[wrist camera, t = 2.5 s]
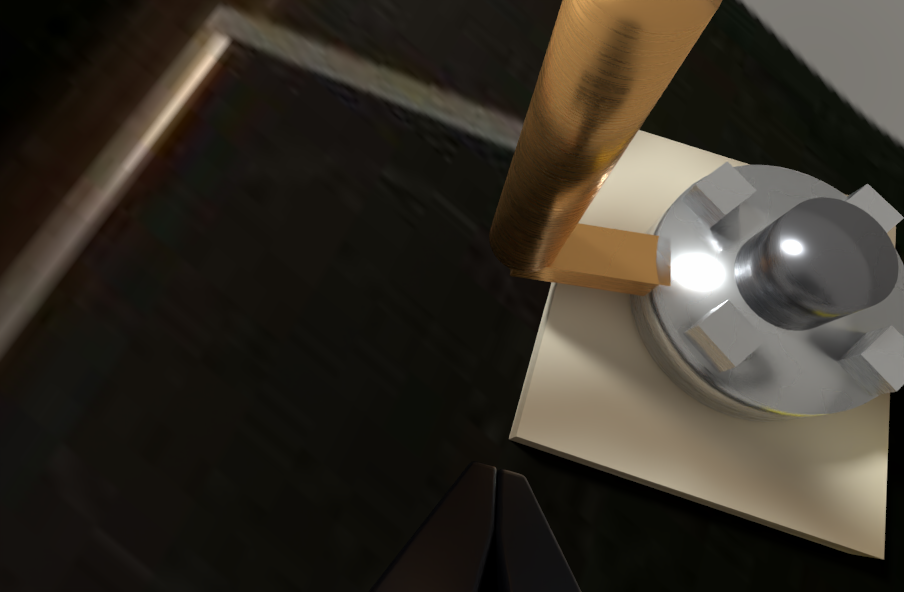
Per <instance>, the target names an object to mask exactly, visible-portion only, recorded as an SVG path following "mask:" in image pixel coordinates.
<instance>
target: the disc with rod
mask: <svg viewBox="0 0 904 592" xmlns="http://www.w3.org/2000/svg"><path fill="white" fill-rule="evenodd" d="M721 1H722V0H563V1H562V4H561V7H560V10H559V14H558V17H557V20H556V23H555V26H554V29H553V33H552V36H551V39H550V42H549V45H548V49H547V52H546V55H545V58H544V61H543V64H542V68H541V71H540V74H539V77H538V80H537V83H536V87H535V90H534V93H533V96H532V99H531V102H530V106H529V109H528V112H527V115H526V118H525V121H524V125H523V128H522V131H521V134H520V137H519V140H518V144H517V147H516V150H515V153H514V156H513V159H512V163H511V166H510V169H509V172H508V175H507V178H506V182H505V185H504V188H503V191H502V194H501V197H500V201H499V204H498V207H497V210H496V213H495V216H494V220H493V223H492V226H491V229H490V235H489V239H490V245H491V248H492V251H493V253H494V254H495V256H496V257H497V258H498V260H499V261H500V262H502V263H503V264H504V265H505V266H507V267H509V268H511V272H510V276H516V277H522V278H529V279H535V280H542V281H548V282H555V283H561V284H568V285H574V286H581V287H587V288H594V289H600V290H607V291H613V292H620V293H626V294H629V299H630V304H631V310H632V315H633V318H634V321H635V324H636V328H637V330H638V332H639V335H640V337H641V339H642V341H643V343H644V345H645V347H646V348H647V350H648V352H649V353H650V355H651V357H652V358H653V360H654V361H655V362H656V363H657V365H658V366H659V367H660V369H661V370H662V371H663V372H664V373H665V374H666V375H667V376H668V377H669V378H670V380H671V381H672V382H673V383H674V384H676V385H677V386H678V387H679V388H680V389H682V390H683V391H684V392H685V393H686V394H688V395H689V396H691V397H692V398H694V399H695V400H697V401H698V402H700V403H702V404H703V405H705V406H707V407H709V408H711V409H713V410H715V411H717V412H720V413H723V414H726V415H729V416H731V417H734V418H739V419H744V420H748V421H757V422H779V421H787V420H794V419H800V418H806V417H813V416H819V415H826V414H832V413H837V412H842V411H846V410H850V409H853V408H855V407H858V406H861V405H863V404H865V403H867V402H869V401H870V400H872V399H874V398H875V397H877V396H878V395H880V394H885V393H890V392H896V391H898V390H899V389H900V388H901V387H902V386H903V385H904V265H903V263H902V261H901V259H900V257H899V255H898V253H897V251H896V249H895V248H894V245H893V243H892V241H891V239H890V237H889V236H888V234H887V232H888V231H890V230H891V229H892V228H893V227H894V226H895V225H896V224H897V223H899V222H900V221H901V220H902V219H903V218H904V217H903V216H902V215H900V214H899V213H898V212H897V211H896V210H895V209H894V208H893V207H892V206H891V205H890V204H889V203H888V202H887V201H885V200H884V199H883V198H882V197H881V196H880V195H879V194H878V193H877V192H876V191H875V190H874V189H873V188H872V187H870V186H869V185H868V184H866V185H865V186H863V187H862V188H860V189H858V190H857V191H855V192H854V193H852V194H851V195H849V196H848V197H847V196H846V195H844V194H843V193H841V192H840V191H839V190H837V189H835V188H833V187H832V186H830V185H828V184H826V183H825V182H823V181H821V180H818V179H816V178H814V177H812V176H809V175H807V174H804V173H801V172H798V171H795V170H791V169H786V168H782V167H777V166H768V165H743V166H736V167H733V166H732V165H731V164H730V163H729V162H728V161H727V162H726V163H724V164H723V165H721V166H720V167H719V168H717V169H716V170H715V171H713V172H712V173H711V174H709V175H707V176H705V177H703V178H702V179H700V180H699V181H697V182H695V183H694V184H692V185H691V186H690V187H689V188H688V189H687V190H685V191H684V192H683V193H682V194H681V195H680V196H679V197H678V198H677V199H676V200H675V201H674V203H673V204H672V205H671V206H670V207H669V208H668V209H667V210H666V211H665V212H664V213H663V214H662V215H661V216H660V217H659V218H658V219H657V220H656V222H655V223H654V224H653V225H652V226H651V227H650V228H649V230H648V231H647V232H646V233H645V234H643V233H637V232H631V231H624V230H618V229H611V228H605V227H599V226H592V225H586V224H580V223H578V222H579V221H580V219H581V218H582V216H583V215H584V213H585V212H586V210H587V209H588V207H589V206H590V204H591V202H592V201H593V199H594V198H595V196H596V195H597V193H598V192H599V190H600V189H601V187H602V186H603V184H604V182H605V181H606V179H607V178H608V176H609V175H610V173H611V172H612V170H613V169H614V167H615V166H616V164H617V162H618V161H619V159H620V158H621V156H622V155H623V153H624V152H625V150H626V149H627V147H628V146H629V144H630V142H631V141H632V139H633V138H634V136H635V135H636V133H637V132H638V130H639V129H640V127H641V126H642V124H643V122H644V121H645V119H646V118H647V116H648V115H649V113H650V112H651V110H652V109H653V107H654V106H655V104H656V102H657V101H658V99H659V98H660V96H661V95H662V93H663V92H664V90H665V89H666V87H667V86H668V84H669V82H670V81H671V79H672V78H673V76H674V75H675V73H676V72H677V70H678V69H679V67H680V66H681V64H682V62H683V61H684V59H685V58H686V56H687V55H688V53H689V52H690V50H691V49H692V47H693V46H694V44H695V42H696V41H697V39H698V38H699V36H700V35H701V33H702V32H703V30H704V29H705V27H706V26H707V24H708V23H709V21H710V19H711V18H712V16H713V15H714V13H715V12H716V10H717V9H718V7H719V6H720V3H721Z"/></svg>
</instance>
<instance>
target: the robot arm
mask: <svg viewBox="0 0 904 592" xmlns="http://www.w3.org/2000/svg"><path fill="white" fill-rule="evenodd" d="M369 592H581V590H580V588H579V586H578V584H577V582H576V580H575V578H574V576H573V574H572V572H571V570H570V568H569V566H568V564H567V561H566V559H565V557H564V555H563V553H562V551H561V549H560V547H559V545H558V543H557V541H556V539H555V537H554V535H553V533H552V531H551V529H550V527H549V525H548V522H547V520H546V518H545V516H544V514H543V512H542V510H541V508H540V506H539V504H538V502H537V500H536V498H535V496H534V494H533V492H532V490H531V488H530V486H529V483H528V481H527V479H526V478H525V477H524V476H523V475H521V474H518V473H514V472H511V471H507V470H504V469H500V470H499V471H498V472H497V470H496V468H495V467H493V466H490V465H486V464H483V463H479V462H475V461H474V462H471V463H470V464H469V465H468V466H467V467H466V469H465V470H464V471H463V472H462V474H461V475H460V476H459V478H458V479H457V480H456V481H455V483H454V484H453V485H452V486H451V488H450V489H449V490H448V492H447V493H446V494H445V495H444V497H443V498H442V499H441V500H440V502H439V503H438V504H437V505H436V507H435V508H434V509H433V511H432V512H431V513H430V514H429V516H428V517H427V518H426V519H425V521H424V522H423V523H422V525H421V526H420V527H419V528H418V530H417V531H416V532H415V533H414V535H413V536H412V537H411V539H410V540H409V541H408V542H407V544H406V545H405V546H404V547H403V549H402V550H401V551H400V552H399V554H398V555H397V556H396V558H395V559H394V560H393V561H392V563H391V564H390V565H389V566H388V568H387V569H386V570H385V572H384V573H383V574H382V575H381V577H380V578H379V579H378V580H377V582H376V583H375V584H374V585H373V587H372V588H371V589H370V591H369Z"/></svg>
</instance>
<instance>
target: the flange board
mask: <svg viewBox="0 0 904 592" xmlns="http://www.w3.org/2000/svg"><path fill="white" fill-rule="evenodd" d="M727 161H728V162H729V163H730V164H731V165H732V166H733V167H736V166H743V165H749V164H746V163H743V162H740V161H736V160H733V159H730V158H727V157H724V156H720V155H717V154H714V153H711V152H708V151H704V150H701V149H698V148H695V147H692V146H688V145H685V144H682V143H679V142H676V141H672V140H669V139H666V138H663V137H660V136H656V135H653V134H650V133H647V132H643V131H640V130H638V132H637V133H636V135H635V136H634V138H633V139H632V141H631V142H630V144H629V146H628V147H627V149H626V150H625V152H624V153H623V155H622V156H621V158H620V159H619V161H618V162H617V164H616V166H615V167H614V169H613V170H612V172H611V173H610V175H609V176H608V178H607V179H606V181H605V182H604V184H603V186H602V187H601V189H600V190H599V192H598V193H597V195H596V196H595V198H594V199H593V201H592V202H591V204H590V206H589V207H588V209H587V210H586V212H585V213H584V215H583V216H582V218H581V219H580V221H579V222H578V223H580V224H586V225H592V226H599V227H605V228H611V229H618V230H624V231H631V232H637V233H643V234H645V233H646V232H647V231H648V230H649V228H650V227H651V226H652V225H653V224H654V223H655V222H656V220H657V219H658V218H659V217H660V216H661V215H662V214H663V213H664V212H665V211H666V210H667V209H668V208H669V207H670V206H671V205H672V204H673V203H674V201H675V200H676V199H677V198H678V197H679V196H680V195H681V194H682V193H683V192H684V191H685V190H687V189H688V188H689V187H690V186H691V185H692V184H694V183H695V182H697V181H699V180H700V179H702V178H703V177H705V176H707V175H709V174H711V173H712V172H713V171H715V170H716V169H717V168H719V167H720V166H721V165H723V164H724V163H726V162H727ZM844 195H846V194H844ZM846 196H847V197H848V196H849V195H846ZM887 234H888V236H889V237H890V239H891V241H892V243H893V245H894V248H895V237H896V225H895V226H894V227H893V228H892V229H891V230H890V231H888V232H887ZM889 406H890V393H885V394H880V395H878V396H877V397H875V398H874V399H872V400H870V401H869V402H867V403H865V404H863V405H861V406H858V407H855V408H853V409H850V410H846V411H842V412H837V413H832V414H826V415H819V416H813V417H806V418H800V419H794V420H787V421H779V422H757V421H748V420H744V419H739V418H734V417H731V416H729V415H726V414H723V413H720V412H717V411H715V410H713V409H711V408H709V407H707V406H705V405H703V404H702V403H700V402H698V401H697V400H695V399H694V398H692V397H691V396H689V395H688V394H686V393H685V392H684V391H683V390H682V389H680V388H679V387H678V386H677V385H676V384H674V383H673V382H672V381H671V380H670V378H669V377H668V376H667V375H666V374H665V373H664V372H663V371H662V370H661V369H660V367H659V366H658V365H657V363H656V362H655V361H654V360H653V358H652V357H651V355H650V353H649V352H648V350H647V348H646V347H645V345H644V343H643V341H642V339H641V337H640V335H639V332H638V330H637V328H636V324H635V321H634V318H633V315H632V310H631V304H630V299H629V294H626V293H620V292H613V291H607V290H600V289H594V288H587V287H581V286H574V285H568V284H561V283H555V282H552V283H551V287H550V290H549V294H548V298H547V301H546V305H545V309H544V312H543V316H542V320H541V323H540V327H539V331H538V334H537V338H536V341H535V345H534V349H533V352H532V356H531V360H530V363H529V367H528V371H527V374H526V378H525V382H524V385H523V389H522V393H521V396H520V400H519V403H518V407H517V411H516V414H515V418H514V422H513V425H512V429H511V433H510V436H509V440H512V441H515V442H518V443H521V444H524V445H527V446H530V447H533V448H536V449H539V450H542V451H545V452H548V453H551V454H554V455H557V456H560V457H563V458H566V459H569V460H572V461H575V462H578V463H581V464H584V465H587V466H590V467H593V468H596V469H599V470H602V471H605V472H608V473H611V474H614V475H617V476H619V477H622V478H625V479H628V480H631V481H634V482H637V483H640V484H643V485H646V486H649V487H652V488H655V489H658V490H661V491H664V492H667V493H670V494H673V495H676V496H679V497H682V498H685V499H688V500H691V501H694V502H697V503H700V504H703V505H706V506H709V507H712V508H715V509H718V510H721V511H724V512H727V513H730V514H733V515H736V516H739V517H742V518H745V519H748V520H751V521H754V522H757V523H760V524H763V525H766V526H768V527H771V528H774V529H777V530H780V531H783V532H786V533H789V534H792V535H795V536H798V537H801V538H804V539H807V540H810V541H813V542H816V543H819V544H822V545H825V546H828V547H831V548H834V549H837V550H840V551H843V552H846V553H849V554H854V555H860V556H866V557H872V558H878V559H884V547H885V519H886V490H887V462H888V434H889Z"/></svg>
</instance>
